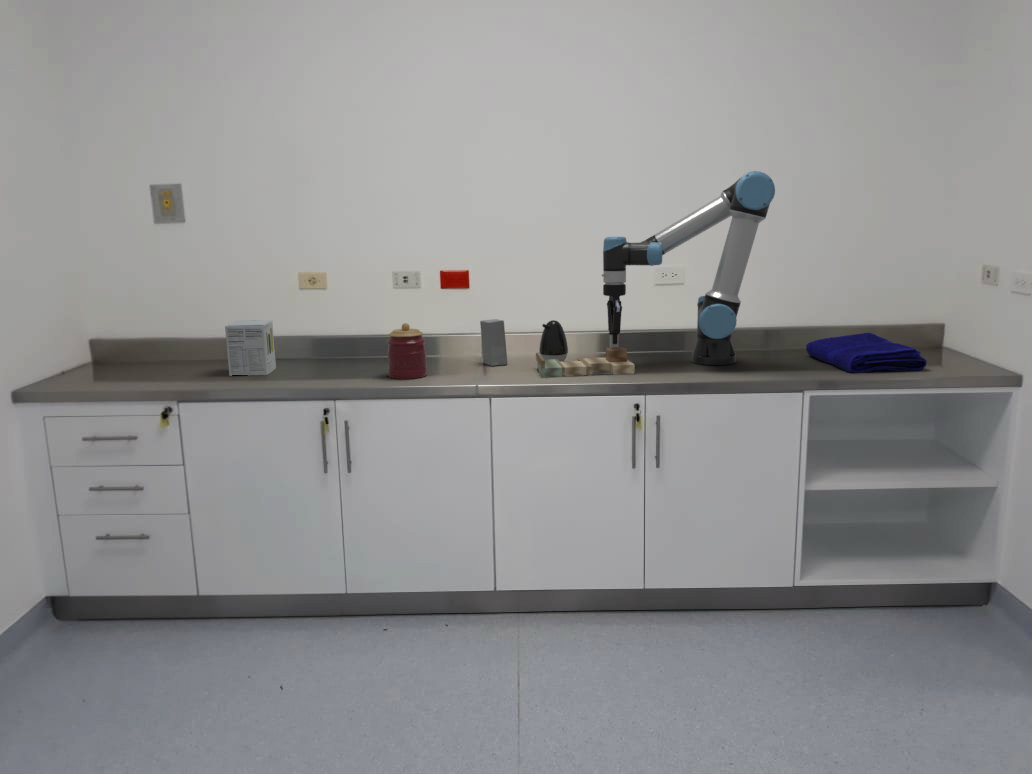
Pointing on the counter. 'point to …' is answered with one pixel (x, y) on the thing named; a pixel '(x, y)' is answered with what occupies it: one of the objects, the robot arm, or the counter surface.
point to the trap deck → (582, 367)
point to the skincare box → (493, 342)
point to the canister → (406, 353)
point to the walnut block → (616, 354)
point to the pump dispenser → (553, 342)
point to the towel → (866, 354)
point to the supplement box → (250, 347)
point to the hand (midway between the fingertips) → (614, 353)
